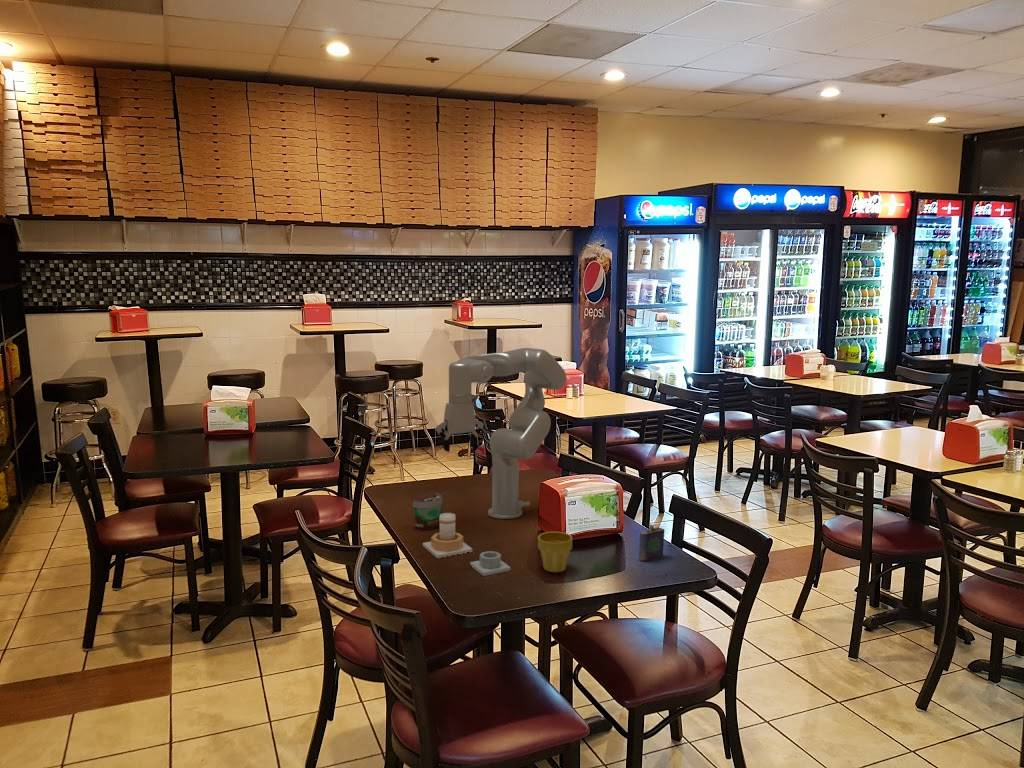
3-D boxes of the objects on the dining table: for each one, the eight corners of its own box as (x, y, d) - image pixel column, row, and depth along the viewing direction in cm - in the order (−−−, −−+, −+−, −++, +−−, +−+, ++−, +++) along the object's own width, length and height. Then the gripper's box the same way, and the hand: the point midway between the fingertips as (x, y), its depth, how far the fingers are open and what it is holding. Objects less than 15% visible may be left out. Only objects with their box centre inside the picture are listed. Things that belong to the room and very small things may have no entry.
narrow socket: (496, 560, 230) (496, 547, 229) (510, 570, 222) (510, 557, 222) (470, 565, 226) (470, 552, 225) (483, 576, 218) (483, 563, 217)
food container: (425, 533, 253) (425, 504, 252) (412, 529, 257) (412, 500, 255) (450, 523, 263) (450, 496, 261) (437, 519, 266) (437, 492, 265)
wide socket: (456, 539, 247) (456, 528, 246) (472, 551, 237) (472, 539, 236) (422, 545, 241) (422, 534, 241) (437, 558, 231) (437, 546, 230)
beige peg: (451, 541, 242) (451, 511, 241) (458, 546, 238) (458, 516, 236) (436, 544, 240) (436, 514, 238) (443, 549, 235) (443, 518, 234)
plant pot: (536, 561, 230) (537, 530, 228) (570, 561, 230) (571, 531, 228) (537, 574, 219) (538, 542, 218) (573, 575, 219) (573, 543, 218)
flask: (642, 562, 230) (643, 528, 228) (636, 559, 232) (637, 525, 231) (665, 557, 235) (666, 524, 233) (658, 553, 237) (660, 521, 235)
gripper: (478, 395, 257) (478, 444, 259) (431, 399, 249) (431, 449, 251) (488, 399, 250) (487, 449, 253) (440, 402, 242) (440, 454, 245)
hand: (460, 449), depth 252 cm, fingers open, 9 cm apart
